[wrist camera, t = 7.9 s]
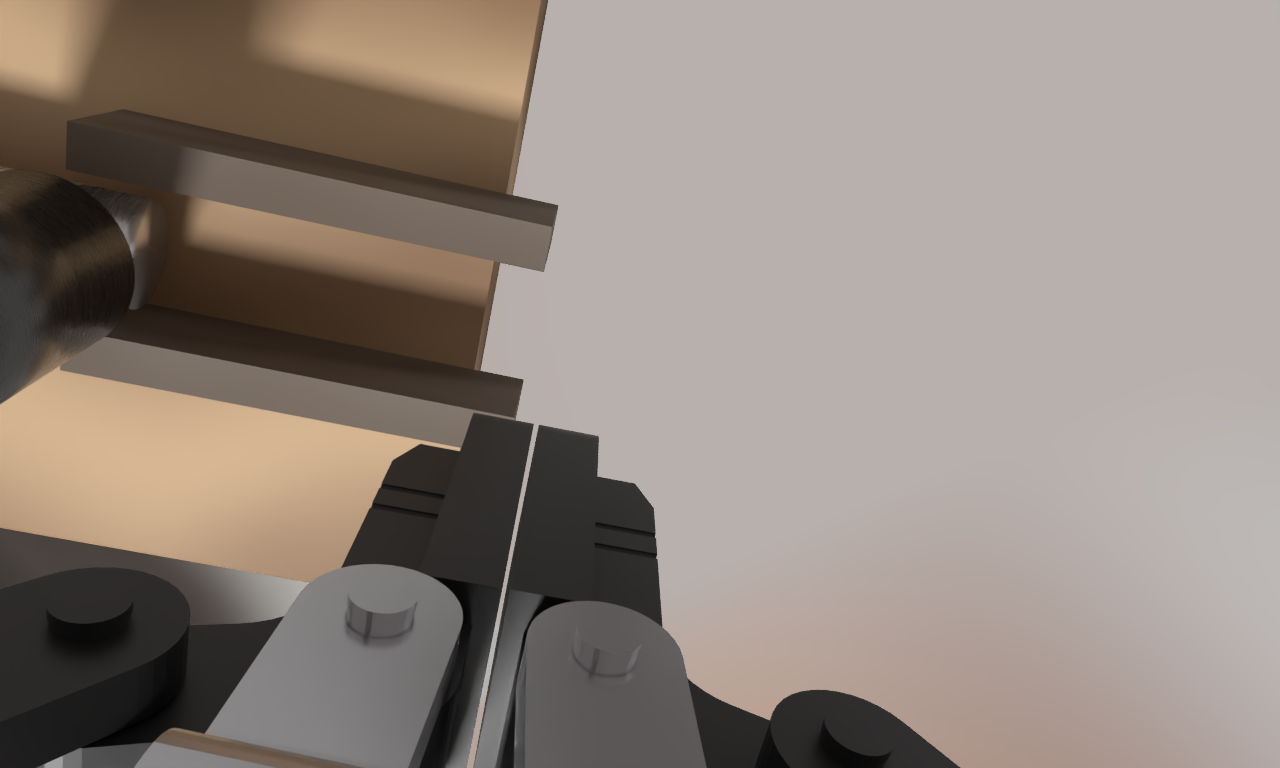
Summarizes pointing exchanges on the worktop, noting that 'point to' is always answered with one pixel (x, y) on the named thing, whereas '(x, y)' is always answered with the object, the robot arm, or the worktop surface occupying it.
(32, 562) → the worktop surface
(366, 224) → the lock plate
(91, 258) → the bolt
